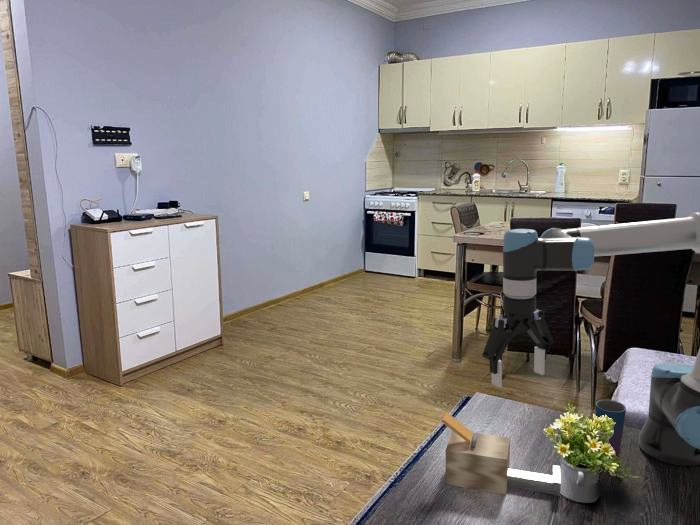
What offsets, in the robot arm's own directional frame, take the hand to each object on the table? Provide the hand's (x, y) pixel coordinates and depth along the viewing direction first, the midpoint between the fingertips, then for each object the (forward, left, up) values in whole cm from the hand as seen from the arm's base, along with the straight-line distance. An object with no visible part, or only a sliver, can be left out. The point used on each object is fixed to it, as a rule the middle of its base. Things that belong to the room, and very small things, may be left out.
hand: (518, 379), depth 129 cm
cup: (-22, -9, -23) cm, 33 cm away
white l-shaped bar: (-1, +8, -24) cm, 25 cm away
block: (+8, +8, -23) cm, 26 cm away
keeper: (+13, +8, -12) cm, 19 cm away
